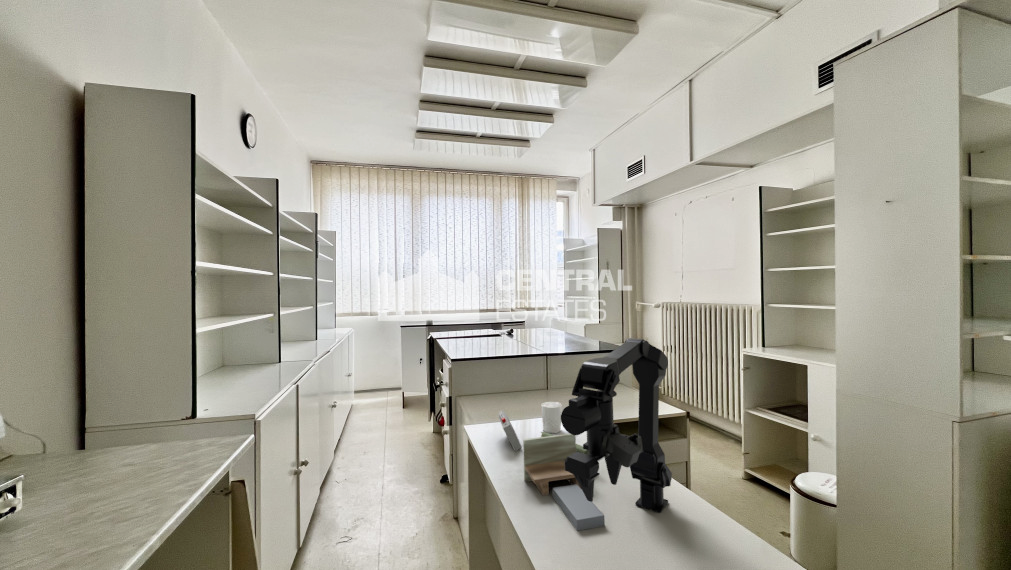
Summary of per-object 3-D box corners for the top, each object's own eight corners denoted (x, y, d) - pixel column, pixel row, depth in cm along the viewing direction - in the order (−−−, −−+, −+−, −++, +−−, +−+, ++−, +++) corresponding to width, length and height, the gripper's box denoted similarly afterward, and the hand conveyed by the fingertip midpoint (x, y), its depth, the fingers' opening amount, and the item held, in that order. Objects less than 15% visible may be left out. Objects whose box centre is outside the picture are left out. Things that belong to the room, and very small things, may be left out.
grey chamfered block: (604, 525, 100) (604, 515, 100) (577, 530, 98) (576, 520, 98) (576, 493, 116) (576, 484, 116) (552, 497, 114) (552, 487, 114)
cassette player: (521, 447, 146) (508, 422, 145) (514, 451, 145) (501, 426, 145) (515, 431, 161) (503, 408, 161) (508, 434, 161) (496, 412, 160)
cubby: (589, 488, 118) (588, 445, 118) (535, 496, 114) (534, 452, 114) (574, 472, 128) (574, 433, 128) (524, 480, 124) (523, 439, 124)
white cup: (548, 425, 170) (547, 400, 170) (565, 429, 166) (565, 403, 166) (538, 431, 164) (537, 405, 164) (555, 435, 159) (555, 408, 159)
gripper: (609, 443, 79) (611, 526, 79) (655, 417, 92) (658, 488, 92) (561, 429, 87) (564, 505, 87) (610, 406, 100) (612, 472, 100)
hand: (602, 492), depth 91 cm, fingers open, 9 cm apart
